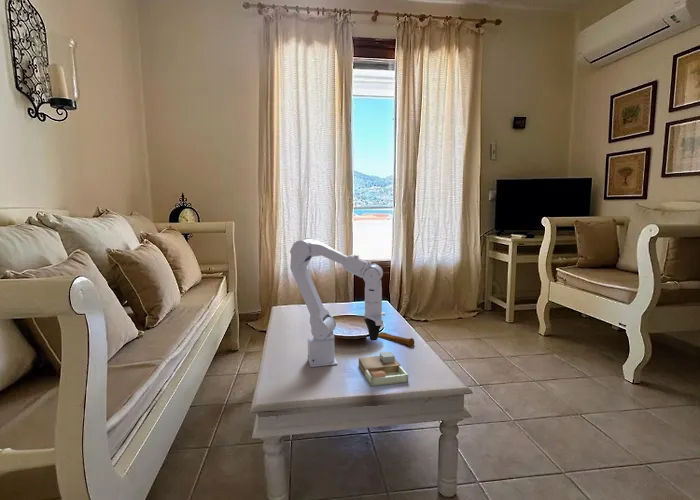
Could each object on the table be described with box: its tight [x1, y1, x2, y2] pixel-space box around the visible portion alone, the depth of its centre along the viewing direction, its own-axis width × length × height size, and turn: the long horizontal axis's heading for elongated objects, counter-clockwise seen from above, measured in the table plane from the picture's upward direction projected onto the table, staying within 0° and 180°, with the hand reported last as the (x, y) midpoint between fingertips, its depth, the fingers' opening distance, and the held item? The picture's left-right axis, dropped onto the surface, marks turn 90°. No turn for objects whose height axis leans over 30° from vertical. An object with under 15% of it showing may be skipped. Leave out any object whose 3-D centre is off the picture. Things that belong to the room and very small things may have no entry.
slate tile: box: [379, 351, 396, 363], centre depth 134 cm, size 4×4×2 cm
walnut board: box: [358, 355, 402, 376], centre depth 133 cm, size 12×9×3 cm
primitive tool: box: [378, 331, 415, 348], centre depth 160 cm, size 19×6×4 cm, turn 44°
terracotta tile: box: [370, 371, 386, 378], centre depth 124 cm, size 4×4×2 cm
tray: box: [364, 365, 409, 387], centre depth 125 cm, size 12×7×2 cm, turn 103°
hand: (373, 339), depth 134 cm, fingers closed
